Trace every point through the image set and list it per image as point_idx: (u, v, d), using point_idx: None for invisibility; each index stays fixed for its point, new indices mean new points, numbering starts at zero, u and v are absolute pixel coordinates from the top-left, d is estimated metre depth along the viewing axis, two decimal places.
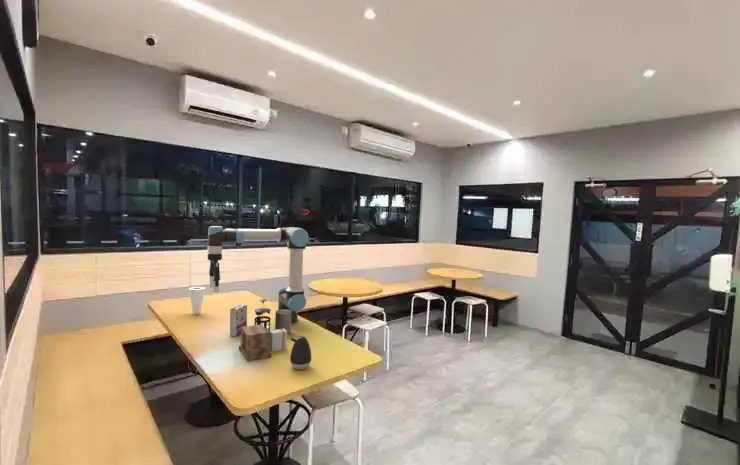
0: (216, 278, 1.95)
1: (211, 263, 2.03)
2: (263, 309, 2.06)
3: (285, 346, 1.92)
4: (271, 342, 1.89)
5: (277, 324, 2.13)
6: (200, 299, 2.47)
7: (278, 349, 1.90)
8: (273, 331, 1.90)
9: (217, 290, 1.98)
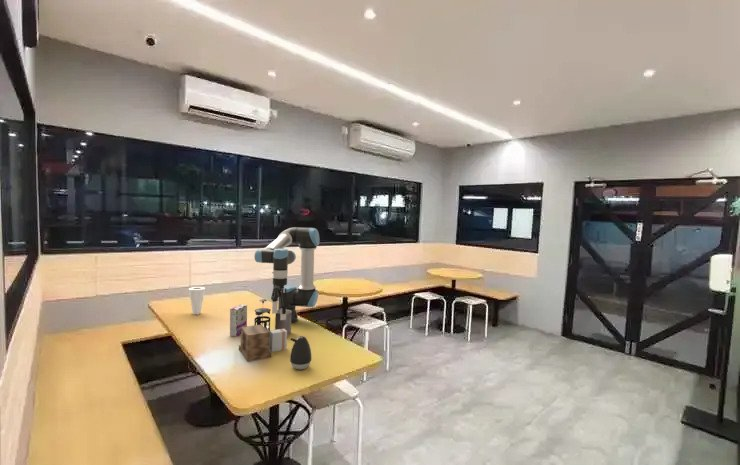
0: (284, 305, 1.82)
1: (276, 288, 1.90)
2: (263, 309, 2.06)
3: (285, 346, 1.92)
4: (271, 342, 1.89)
5: (277, 324, 2.13)
6: (200, 299, 2.47)
7: (278, 349, 1.90)
8: (273, 331, 1.90)
9: (284, 318, 1.85)
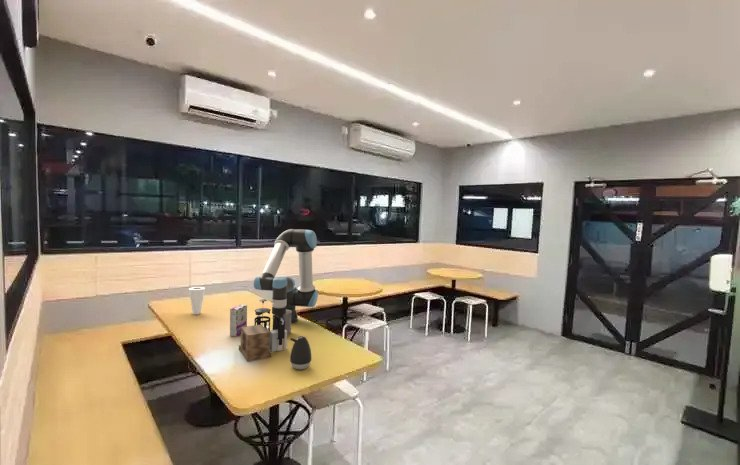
0: (280, 337, 1.86)
1: (275, 317, 1.91)
2: (263, 309, 2.06)
3: (285, 346, 1.92)
4: (271, 342, 1.89)
5: None
6: (200, 299, 2.47)
7: None
8: (273, 331, 1.90)
9: (280, 348, 1.90)
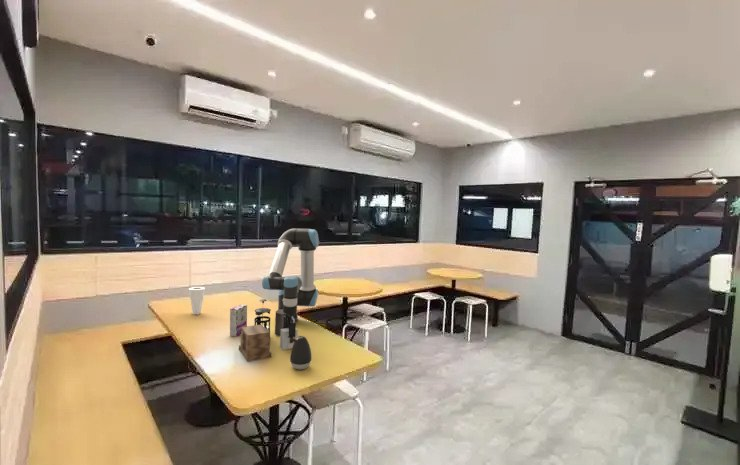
0: (291, 335, 1.90)
1: (286, 315, 1.95)
2: (263, 309, 2.06)
3: None
4: (282, 340, 1.92)
5: (277, 324, 2.13)
6: (200, 299, 2.47)
7: None
8: (284, 329, 1.94)
9: (291, 346, 1.93)
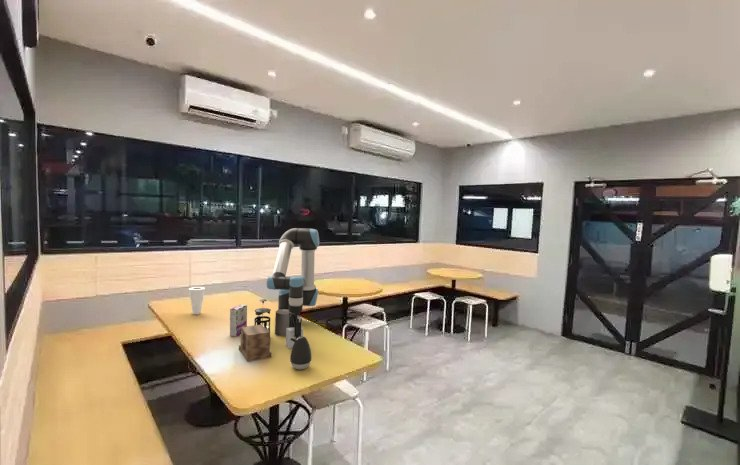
0: (297, 334, 1.91)
1: (292, 314, 1.96)
2: (263, 309, 2.06)
3: None
4: (288, 339, 1.94)
5: (277, 324, 2.13)
6: (200, 299, 2.47)
7: None
8: (290, 329, 1.96)
9: None
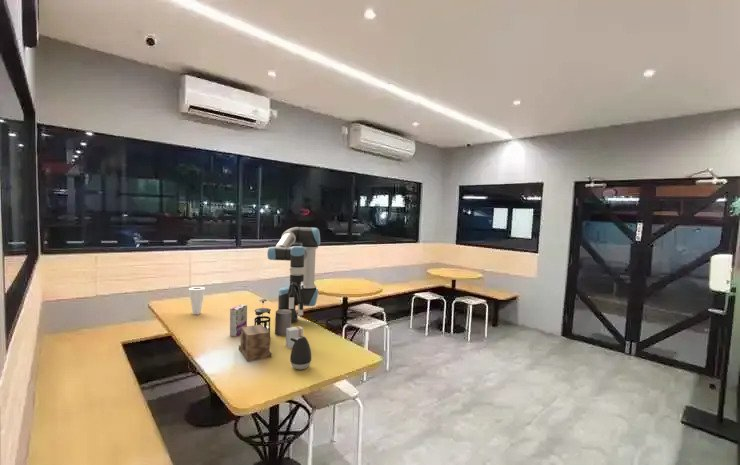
0: (302, 301, 1.87)
1: (293, 285, 1.95)
2: (263, 309, 2.06)
3: None
4: (288, 339, 1.94)
5: (277, 324, 2.13)
6: (200, 299, 2.47)
7: None
8: (290, 329, 1.96)
9: (301, 313, 1.91)
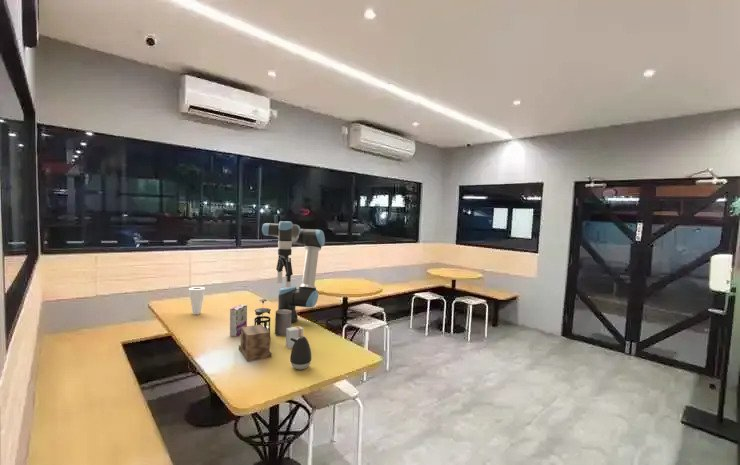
0: (289, 273, 1.94)
1: (281, 258, 2.02)
2: (263, 309, 2.06)
3: None
4: (288, 339, 1.94)
5: (277, 324, 2.13)
6: (200, 299, 2.47)
7: None
8: (290, 329, 1.96)
9: (289, 285, 1.97)
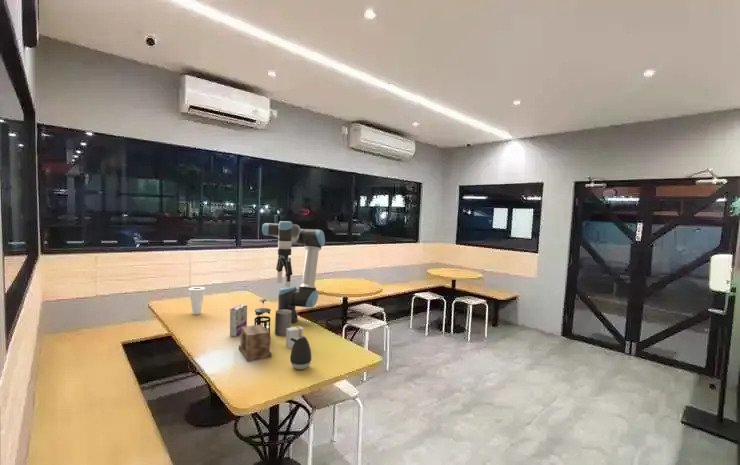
0: (289, 273, 1.94)
1: (281, 258, 2.02)
2: (263, 309, 2.06)
3: None
4: (288, 339, 1.94)
5: (277, 324, 2.13)
6: (200, 299, 2.47)
7: None
8: (290, 329, 1.96)
9: (288, 285, 1.97)
